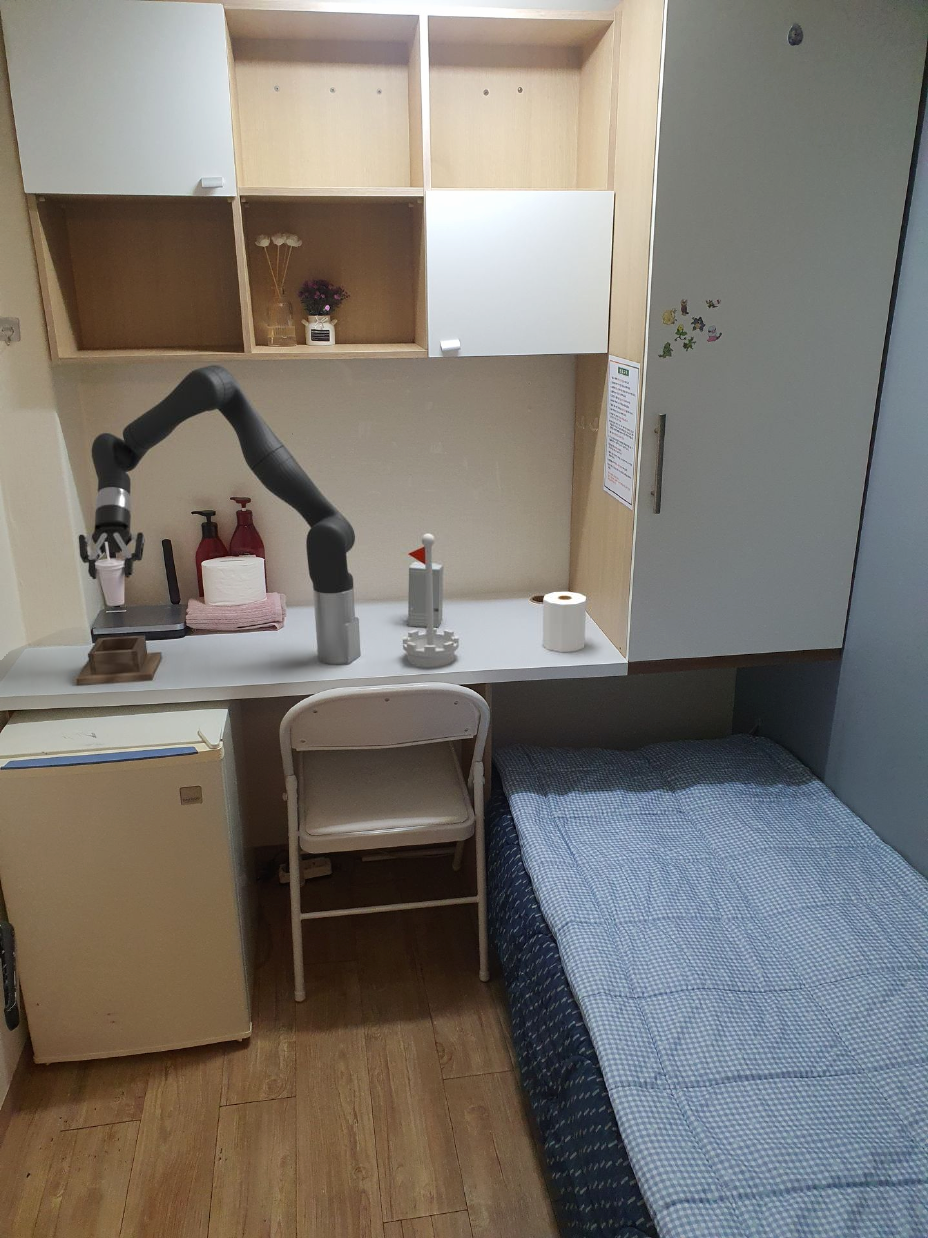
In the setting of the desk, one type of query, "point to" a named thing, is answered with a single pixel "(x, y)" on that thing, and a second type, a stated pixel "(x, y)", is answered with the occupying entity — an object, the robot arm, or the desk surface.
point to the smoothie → (112, 578)
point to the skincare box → (424, 594)
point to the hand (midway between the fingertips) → (110, 576)
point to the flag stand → (429, 623)
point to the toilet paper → (564, 621)
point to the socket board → (119, 661)
